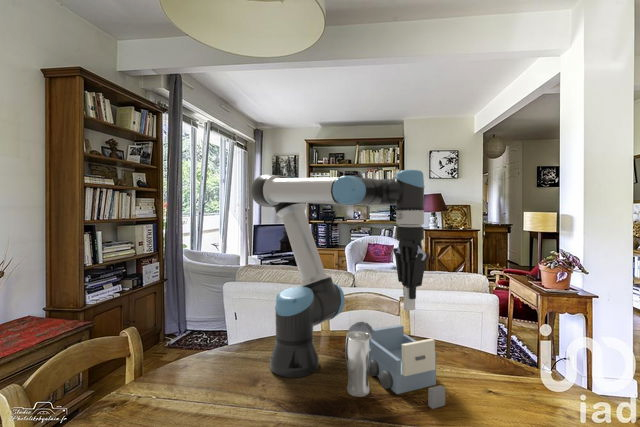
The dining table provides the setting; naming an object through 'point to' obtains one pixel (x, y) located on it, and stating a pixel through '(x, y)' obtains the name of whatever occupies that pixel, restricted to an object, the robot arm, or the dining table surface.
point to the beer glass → (358, 362)
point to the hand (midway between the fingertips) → (409, 309)
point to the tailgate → (418, 357)
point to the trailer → (400, 365)
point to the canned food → (361, 328)
